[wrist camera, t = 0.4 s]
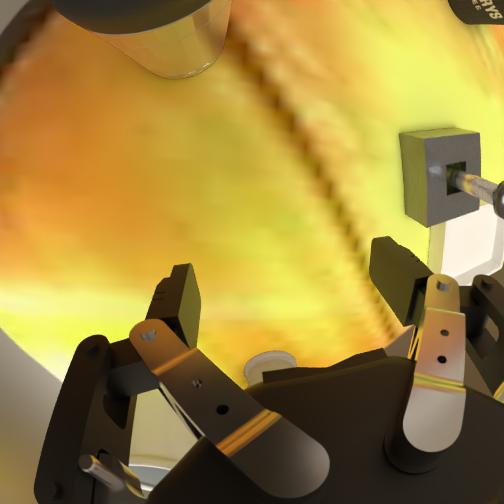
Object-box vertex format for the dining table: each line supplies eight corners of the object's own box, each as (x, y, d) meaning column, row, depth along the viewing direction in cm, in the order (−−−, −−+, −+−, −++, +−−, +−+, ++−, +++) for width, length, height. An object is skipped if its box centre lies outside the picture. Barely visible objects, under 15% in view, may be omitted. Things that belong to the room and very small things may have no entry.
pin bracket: (399, 133, 30) (423, 138, 25) (455, 127, 30) (479, 132, 25) (405, 213, 35) (426, 227, 30) (457, 198, 35) (479, 209, 30)
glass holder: (300, 348, 43) (329, 428, 30) (286, 399, 49) (304, 466, 36) (245, 352, 42) (259, 437, 29) (240, 402, 48) (251, 473, 35)
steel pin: (421, 156, 31) (501, 186, 19) (441, 153, 31) (518, 181, 19) (423, 184, 33) (497, 223, 21) (442, 180, 33) (515, 215, 21)
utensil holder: (112, 394, 44) (97, 474, 29) (149, 358, 40) (136, 458, 25) (176, 423, 50) (175, 497, 34) (221, 394, 46) (230, 482, 31)
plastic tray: (431, 209, 35) (446, 218, 32) (499, 188, 35) (513, 194, 32) (424, 291, 42) (436, 303, 39) (490, 259, 42) (501, 268, 39)
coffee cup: (448, -27, 17) (513, -43, 4) (484, 16, 20) (549, 13, 7) (432, -4, 20) (507, -22, 7) (471, 43, 23) (546, 43, 10)
